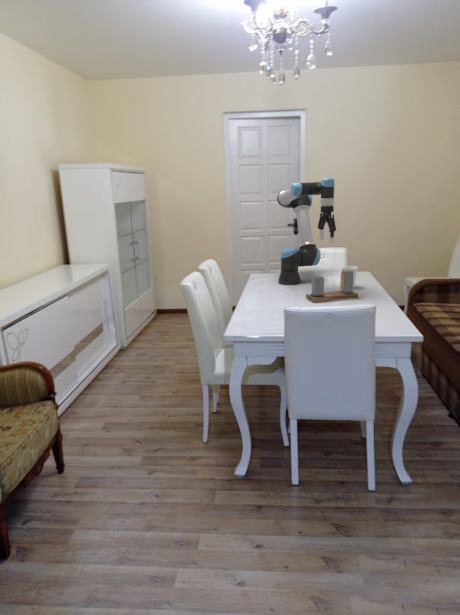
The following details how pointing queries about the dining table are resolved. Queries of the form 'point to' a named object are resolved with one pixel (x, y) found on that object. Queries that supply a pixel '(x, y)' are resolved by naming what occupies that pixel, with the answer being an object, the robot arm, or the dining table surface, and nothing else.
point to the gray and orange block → (317, 286)
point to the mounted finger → (347, 282)
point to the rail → (332, 297)
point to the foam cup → (352, 268)
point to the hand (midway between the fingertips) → (326, 241)
